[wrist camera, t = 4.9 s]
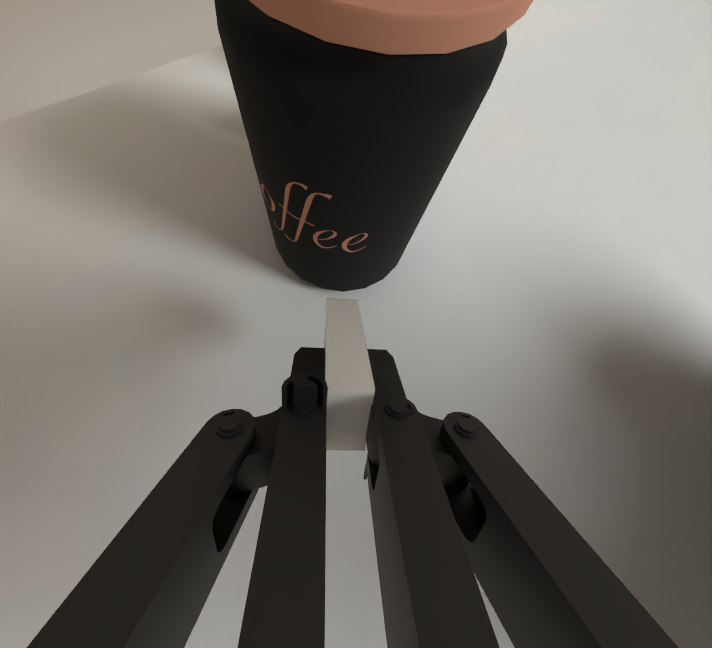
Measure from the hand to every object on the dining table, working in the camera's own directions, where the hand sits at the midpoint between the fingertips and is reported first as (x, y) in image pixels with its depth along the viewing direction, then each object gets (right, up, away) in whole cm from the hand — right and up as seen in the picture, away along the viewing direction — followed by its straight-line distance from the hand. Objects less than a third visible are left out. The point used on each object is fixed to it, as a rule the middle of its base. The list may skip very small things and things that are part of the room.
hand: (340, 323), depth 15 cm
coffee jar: (-1, +7, +11) cm, 13 cm away
